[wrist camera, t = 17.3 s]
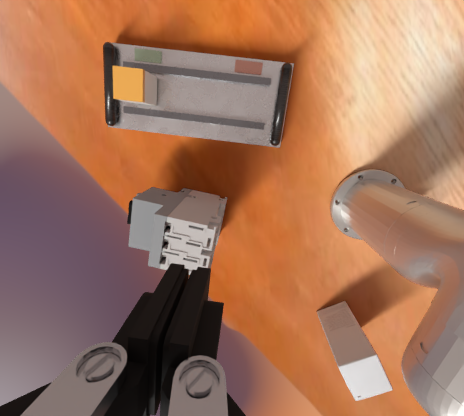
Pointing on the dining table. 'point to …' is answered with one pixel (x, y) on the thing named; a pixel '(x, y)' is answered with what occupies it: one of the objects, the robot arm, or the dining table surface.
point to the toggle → (134, 86)
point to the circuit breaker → (176, 226)
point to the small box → (353, 352)
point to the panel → (202, 95)
